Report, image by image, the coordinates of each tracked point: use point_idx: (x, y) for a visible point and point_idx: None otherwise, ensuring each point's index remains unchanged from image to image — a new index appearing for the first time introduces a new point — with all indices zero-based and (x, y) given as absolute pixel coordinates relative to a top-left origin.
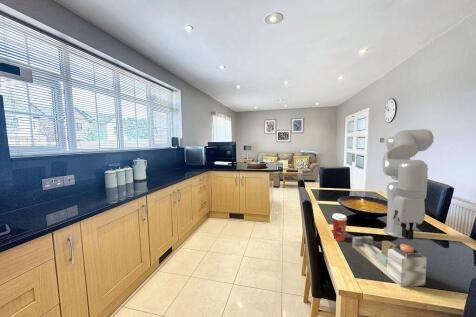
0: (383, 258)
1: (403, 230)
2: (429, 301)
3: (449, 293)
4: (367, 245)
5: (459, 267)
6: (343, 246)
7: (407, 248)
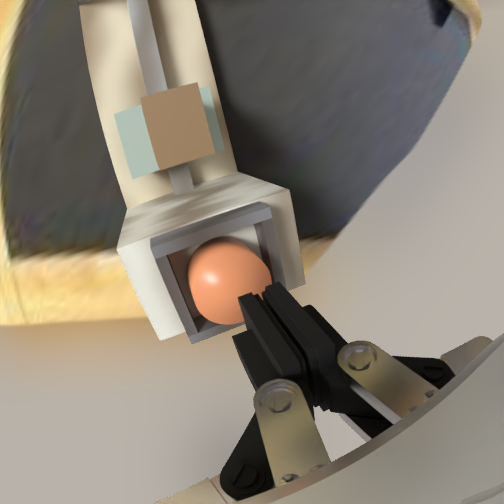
0: (128, 164)
1: (255, 384)
2: None
3: None
4: (134, 2)
5: (412, 114)
6: (37, 11)
7: (222, 315)
